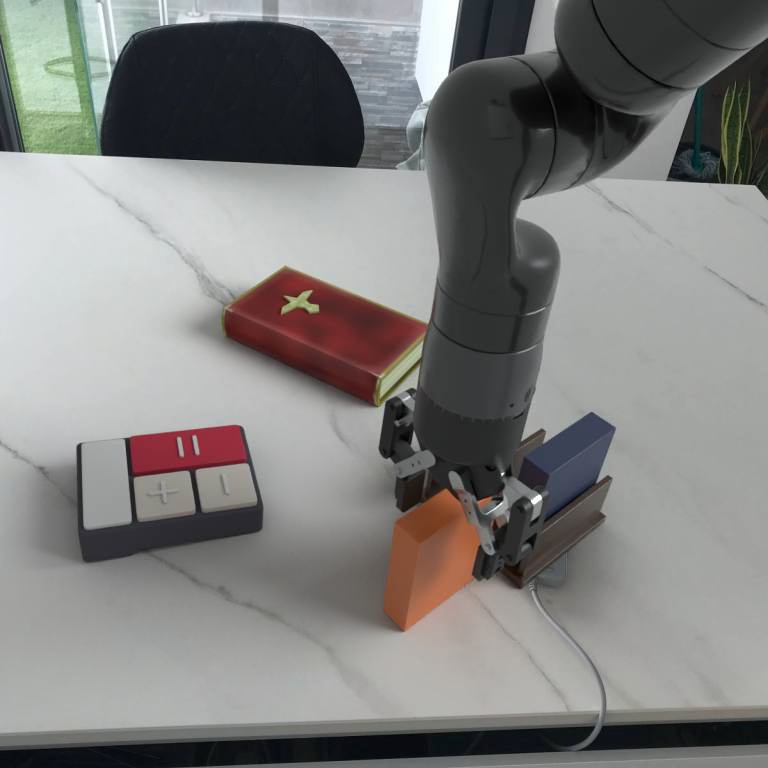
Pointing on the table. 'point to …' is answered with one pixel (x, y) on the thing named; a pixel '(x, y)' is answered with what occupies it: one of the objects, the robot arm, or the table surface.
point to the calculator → (165, 490)
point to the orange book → (429, 558)
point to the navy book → (568, 461)
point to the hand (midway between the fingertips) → (444, 538)
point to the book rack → (555, 531)
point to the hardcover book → (327, 333)
